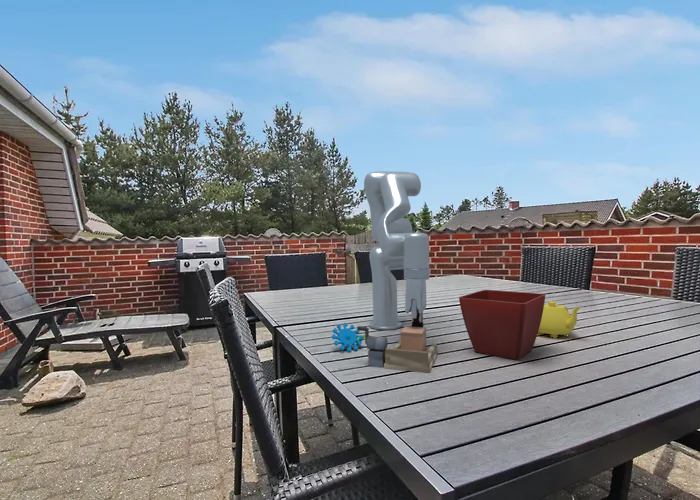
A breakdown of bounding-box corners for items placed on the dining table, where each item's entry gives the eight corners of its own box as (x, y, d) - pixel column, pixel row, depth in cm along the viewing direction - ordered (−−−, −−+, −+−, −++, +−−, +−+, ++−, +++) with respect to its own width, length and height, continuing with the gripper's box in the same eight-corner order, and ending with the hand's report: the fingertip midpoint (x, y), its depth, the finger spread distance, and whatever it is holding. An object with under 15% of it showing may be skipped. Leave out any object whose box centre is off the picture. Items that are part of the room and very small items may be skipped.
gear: (334, 349, 113) (331, 321, 120) (329, 359, 117) (326, 331, 124) (368, 350, 116) (363, 322, 123) (363, 359, 120) (358, 332, 127)
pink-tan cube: (405, 349, 113) (405, 326, 113) (426, 351, 111) (426, 327, 110) (400, 356, 106) (400, 331, 106) (422, 358, 104) (422, 333, 104)
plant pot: (458, 352, 112) (457, 296, 112) (485, 339, 126) (484, 289, 126) (525, 366, 99) (524, 303, 99) (547, 349, 113) (546, 294, 113)
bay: (373, 347, 119) (373, 315, 119) (438, 353, 112) (437, 319, 112) (355, 365, 103) (354, 328, 103) (429, 372, 96) (428, 333, 96)
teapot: (596, 338, 125) (596, 303, 124) (568, 344, 118) (568, 308, 118) (541, 325, 142) (541, 295, 142) (514, 331, 136) (514, 299, 135)
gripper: (409, 271, 121) (410, 328, 122) (398, 276, 107) (399, 340, 108) (432, 272, 119) (433, 330, 119) (425, 277, 105) (426, 342, 105)
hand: (417, 334), depth 114 cm, fingers closed
